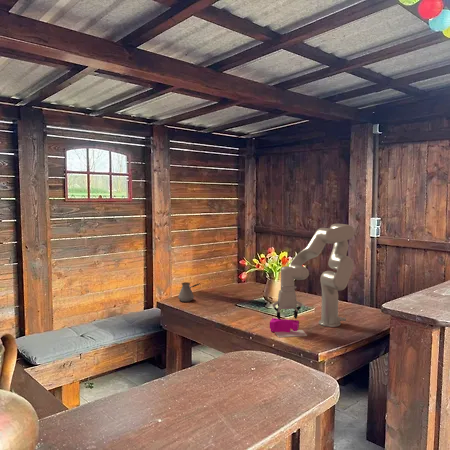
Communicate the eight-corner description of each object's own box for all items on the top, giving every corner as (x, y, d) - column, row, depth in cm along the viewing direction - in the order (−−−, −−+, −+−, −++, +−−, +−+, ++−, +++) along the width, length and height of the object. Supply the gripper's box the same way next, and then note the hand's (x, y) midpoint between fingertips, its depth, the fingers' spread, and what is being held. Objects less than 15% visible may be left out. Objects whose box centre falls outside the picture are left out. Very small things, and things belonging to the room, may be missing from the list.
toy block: (272, 328, 228) (269, 333, 221) (272, 318, 228) (269, 321, 221) (298, 331, 223) (296, 335, 216) (298, 320, 223) (297, 324, 216)
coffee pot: (174, 300, 293) (174, 280, 292) (187, 297, 301) (186, 278, 300) (194, 306, 278) (194, 284, 277) (206, 302, 286) (206, 282, 285)
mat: (302, 330, 226) (302, 329, 226) (307, 336, 217) (307, 335, 217) (274, 331, 224) (274, 331, 224) (278, 337, 215) (278, 336, 215)
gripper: (300, 286, 231) (299, 315, 232) (270, 287, 228) (270, 317, 230) (304, 289, 223) (304, 319, 224) (274, 290, 221) (273, 321, 222)
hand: (287, 318), depth 227 cm, fingers open, 9 cm apart
